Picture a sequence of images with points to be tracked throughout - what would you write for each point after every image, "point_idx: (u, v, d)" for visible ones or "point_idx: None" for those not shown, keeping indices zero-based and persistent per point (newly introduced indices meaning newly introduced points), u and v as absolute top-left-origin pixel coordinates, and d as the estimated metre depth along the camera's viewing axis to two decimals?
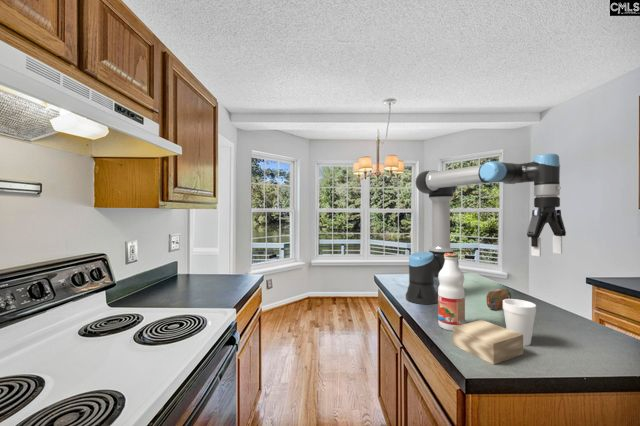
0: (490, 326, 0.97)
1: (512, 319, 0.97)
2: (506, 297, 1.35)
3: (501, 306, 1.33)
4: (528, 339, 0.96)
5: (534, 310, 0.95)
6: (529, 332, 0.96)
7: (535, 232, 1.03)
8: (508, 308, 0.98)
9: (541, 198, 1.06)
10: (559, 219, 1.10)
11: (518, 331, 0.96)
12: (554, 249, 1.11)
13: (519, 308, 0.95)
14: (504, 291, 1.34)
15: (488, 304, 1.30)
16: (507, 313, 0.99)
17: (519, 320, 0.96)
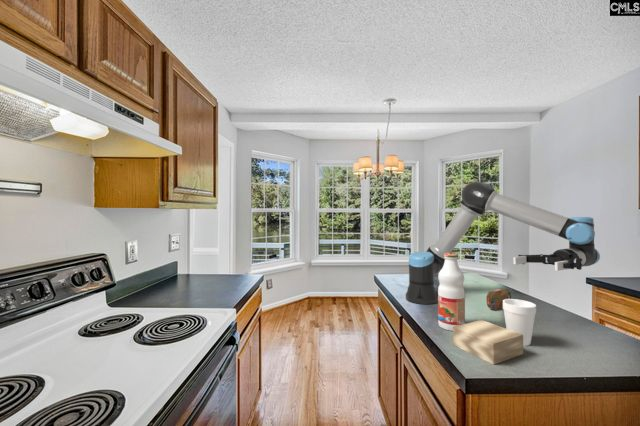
0: (490, 326, 0.97)
1: (512, 319, 0.97)
2: (506, 297, 1.35)
3: (501, 306, 1.33)
4: (528, 339, 0.96)
5: (534, 310, 0.95)
6: (529, 332, 0.96)
7: None
8: (508, 308, 0.98)
9: None
10: None
11: (518, 331, 0.96)
12: (517, 258, 1.10)
13: (519, 308, 0.95)
14: (504, 291, 1.34)
15: (488, 304, 1.30)
16: (507, 313, 0.99)
17: (519, 320, 0.96)
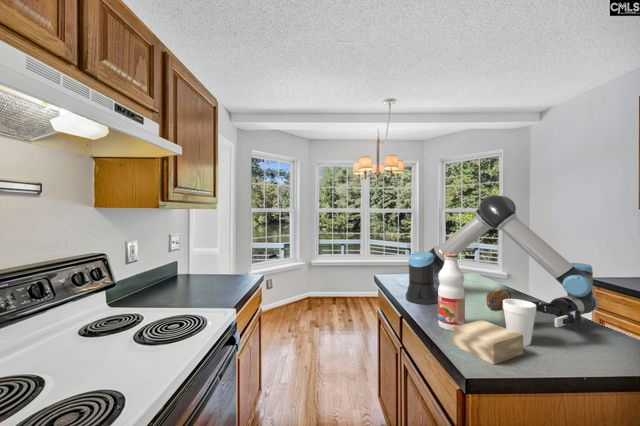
0: (490, 326, 0.97)
1: (512, 319, 0.97)
2: (506, 297, 1.35)
3: (501, 306, 1.33)
4: (528, 339, 0.96)
5: (534, 310, 0.95)
6: (529, 332, 0.96)
7: None
8: (508, 307, 0.98)
9: (577, 310, 1.08)
10: None
11: (518, 331, 0.96)
12: None
13: (519, 308, 0.95)
14: (504, 291, 1.34)
15: (488, 304, 1.30)
16: (507, 313, 0.99)
17: (519, 320, 0.96)
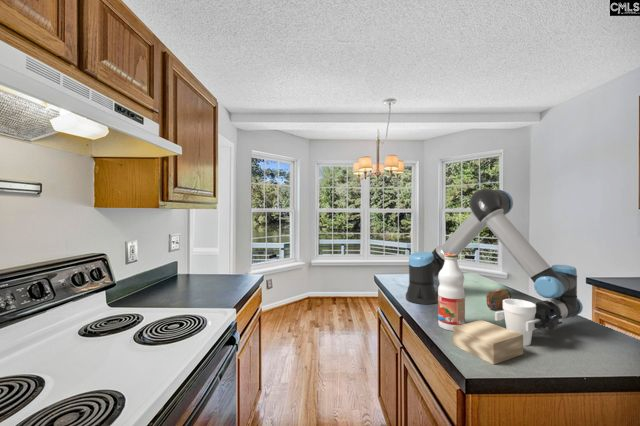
0: (490, 326, 0.97)
1: (512, 319, 0.97)
2: (506, 297, 1.35)
3: (501, 306, 1.33)
4: (528, 339, 0.96)
5: (534, 310, 0.95)
6: (529, 332, 0.96)
7: None
8: (508, 308, 0.98)
9: (560, 315, 1.03)
10: None
11: (518, 331, 0.96)
12: (499, 314, 1.02)
13: (519, 308, 0.95)
14: (504, 291, 1.34)
15: (488, 304, 1.30)
16: (507, 313, 0.99)
17: (519, 320, 0.96)
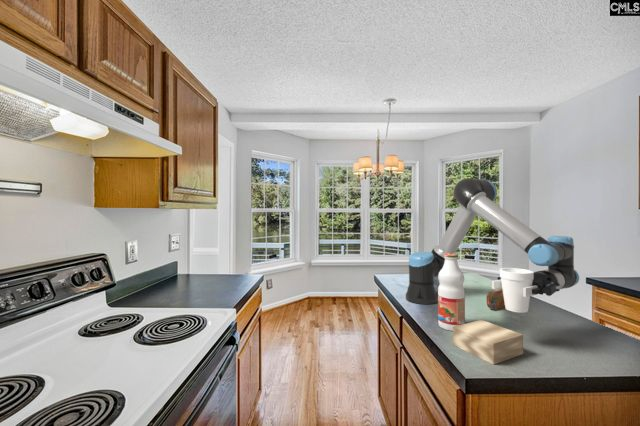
0: (490, 326, 0.97)
1: (509, 286, 0.96)
2: None
3: (501, 306, 1.33)
4: (526, 306, 0.95)
5: (532, 276, 0.94)
6: (526, 299, 0.95)
7: None
8: (505, 275, 0.97)
9: None
10: None
11: (515, 298, 0.95)
12: (496, 282, 1.01)
13: (516, 274, 0.94)
14: None
15: (488, 304, 1.30)
16: (504, 280, 0.97)
17: (516, 287, 0.94)
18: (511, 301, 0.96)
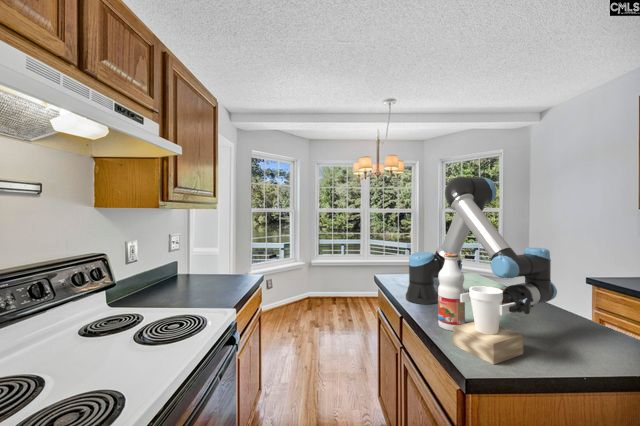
0: None
1: (478, 307, 0.92)
2: None
3: None
4: (495, 327, 0.91)
5: (500, 296, 0.90)
6: (496, 320, 0.90)
7: None
8: (473, 295, 0.93)
9: None
10: None
11: (484, 319, 0.91)
12: (464, 295, 0.99)
13: (484, 295, 0.90)
14: None
15: None
16: (473, 300, 0.93)
17: (485, 307, 0.90)
18: (480, 322, 0.92)
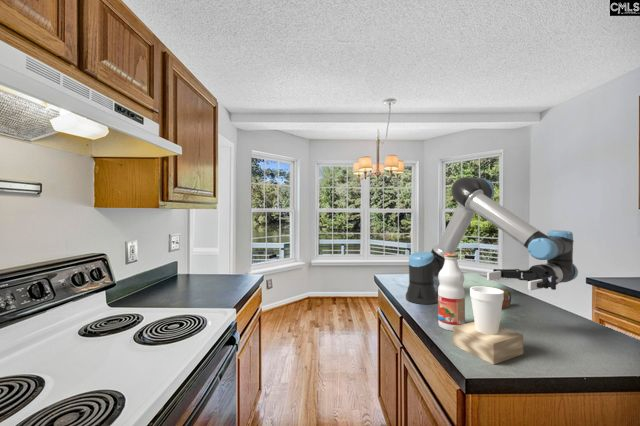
0: None
1: (479, 307, 0.92)
2: (506, 297, 1.35)
3: None
4: (495, 327, 0.91)
5: (501, 297, 0.90)
6: (496, 320, 0.90)
7: None
8: (474, 295, 0.93)
9: None
10: None
11: (485, 319, 0.91)
12: (491, 274, 1.04)
13: (485, 295, 0.90)
14: (504, 291, 1.34)
15: None
16: (474, 300, 0.93)
17: (485, 307, 0.90)
18: (480, 322, 0.92)
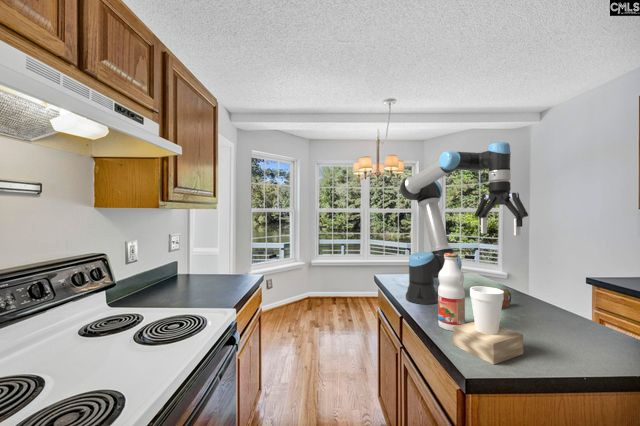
0: None
1: (479, 307, 0.92)
2: (506, 297, 1.35)
3: None
4: (495, 327, 0.91)
5: (501, 297, 0.90)
6: (496, 320, 0.90)
7: (476, 213, 1.26)
8: (474, 295, 0.93)
9: None
10: None
11: (485, 319, 0.91)
12: None
13: (485, 295, 0.90)
14: (504, 291, 1.34)
15: None
16: (474, 300, 0.93)
17: (485, 307, 0.90)
18: (480, 322, 0.92)
